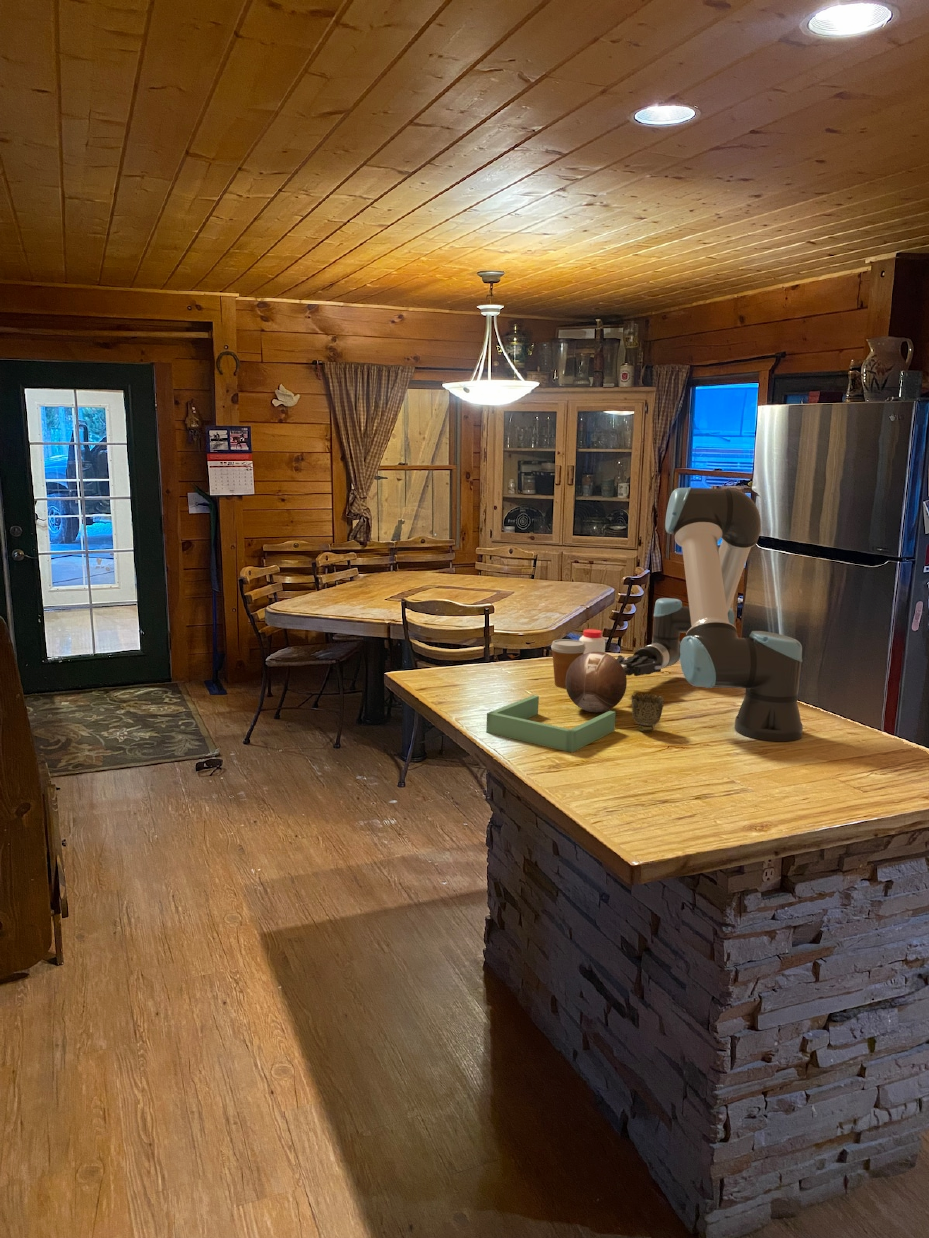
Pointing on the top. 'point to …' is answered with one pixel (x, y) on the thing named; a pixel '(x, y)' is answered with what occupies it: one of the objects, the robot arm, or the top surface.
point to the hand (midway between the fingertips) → (612, 674)
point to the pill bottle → (593, 641)
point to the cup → (647, 711)
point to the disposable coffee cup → (565, 657)
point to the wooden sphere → (596, 682)
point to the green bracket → (546, 727)
